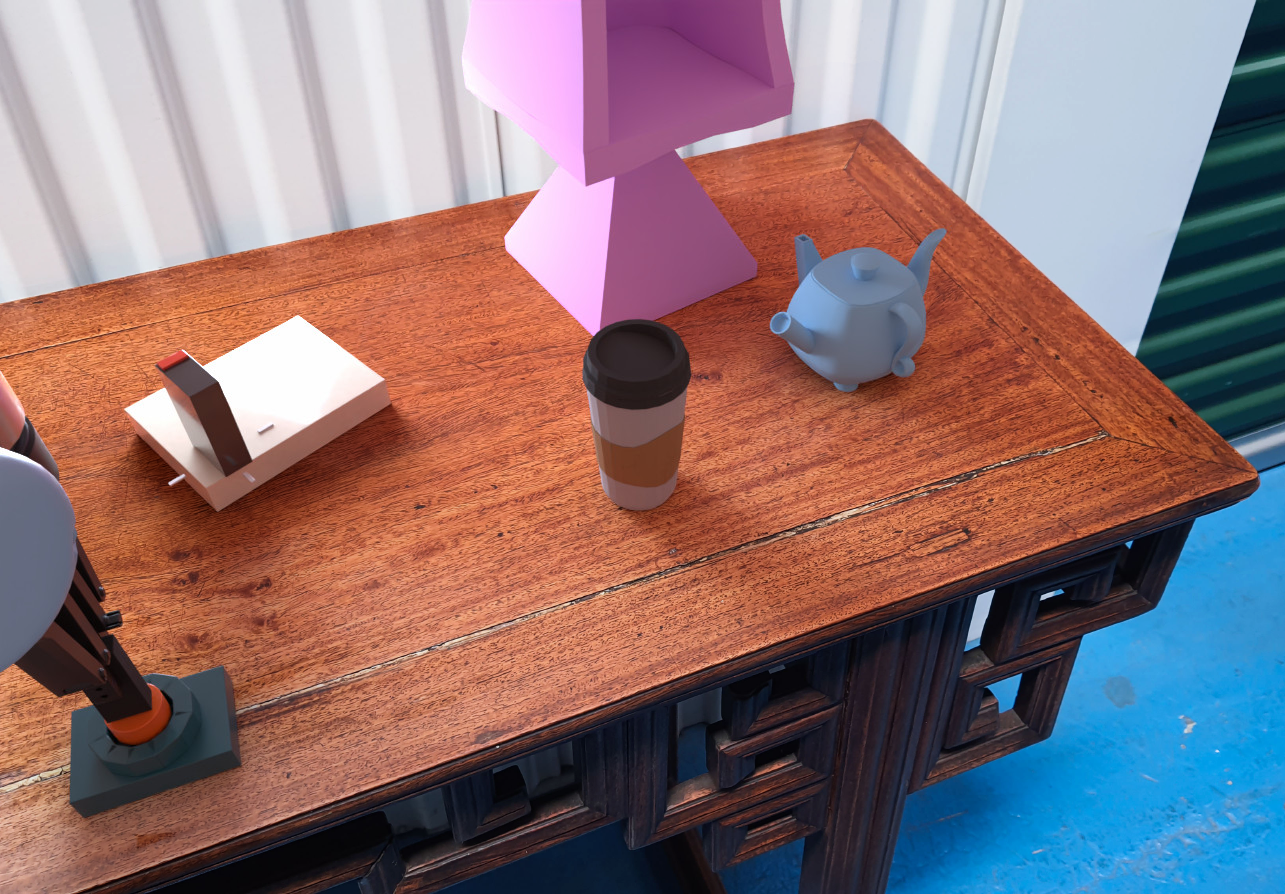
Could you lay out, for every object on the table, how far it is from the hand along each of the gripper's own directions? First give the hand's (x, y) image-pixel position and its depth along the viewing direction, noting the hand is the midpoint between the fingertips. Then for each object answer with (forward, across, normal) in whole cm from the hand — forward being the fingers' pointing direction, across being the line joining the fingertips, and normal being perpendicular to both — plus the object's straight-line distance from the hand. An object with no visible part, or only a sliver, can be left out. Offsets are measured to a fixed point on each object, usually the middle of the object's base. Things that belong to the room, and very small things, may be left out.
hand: (129, 706), depth 64 cm
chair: (+5, -41, +50) cm, 65 cm away
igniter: (+6, 0, 0) cm, 6 cm away
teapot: (+5, -19, +64) cm, 67 cm away
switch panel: (+5, -30, +10) cm, 32 cm away
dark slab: (+2, -24, +7) cm, 25 cm away
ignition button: (+2, 0, 0) cm, 2 cm away
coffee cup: (+6, -11, +39) cm, 41 cm away
